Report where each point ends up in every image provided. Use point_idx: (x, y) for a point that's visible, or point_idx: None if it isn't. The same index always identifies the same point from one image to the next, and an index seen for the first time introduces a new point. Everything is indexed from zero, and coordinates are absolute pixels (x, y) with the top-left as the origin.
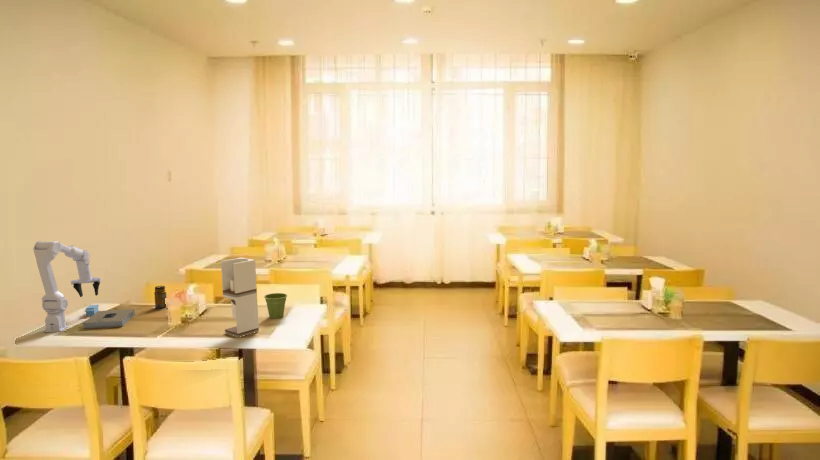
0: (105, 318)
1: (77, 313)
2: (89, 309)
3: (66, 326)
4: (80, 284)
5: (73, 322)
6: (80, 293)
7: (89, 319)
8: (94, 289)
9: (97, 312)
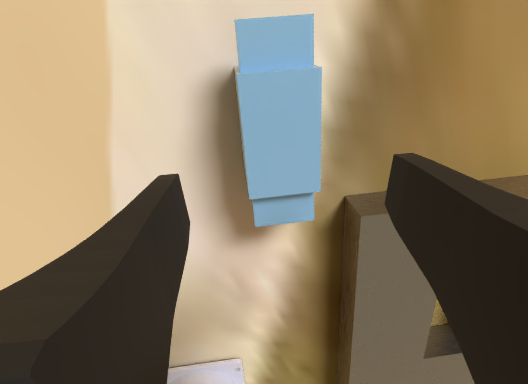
0: (443, 361)
1: (116, 75)
2: (282, 196)
3: (240, 381)
4: (100, 355)
5: (228, 301)
6: (180, 270)
7: (360, 376)
8: (444, 303)
9: (365, 251)
